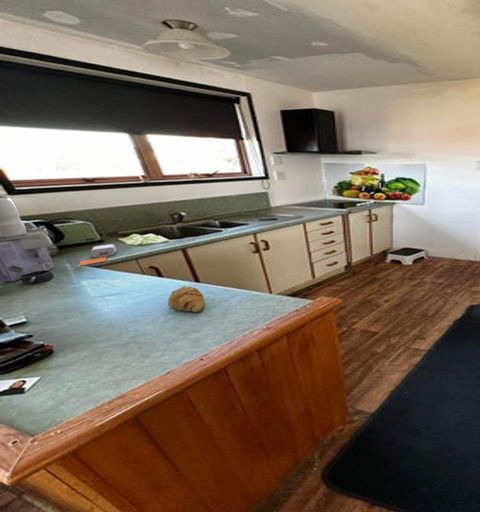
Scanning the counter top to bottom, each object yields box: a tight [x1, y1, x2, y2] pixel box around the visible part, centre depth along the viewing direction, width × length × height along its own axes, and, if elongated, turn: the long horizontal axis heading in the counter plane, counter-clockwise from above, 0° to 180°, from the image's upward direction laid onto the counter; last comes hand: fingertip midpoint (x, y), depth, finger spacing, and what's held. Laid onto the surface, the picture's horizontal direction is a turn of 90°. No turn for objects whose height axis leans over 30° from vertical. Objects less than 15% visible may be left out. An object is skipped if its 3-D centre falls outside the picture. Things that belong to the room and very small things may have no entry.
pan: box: [19, 269, 55, 285], centre depth 123 cm, size 9×9×4 cm
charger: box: [90, 243, 117, 259], centre depth 161 cm, size 5×9×15 cm
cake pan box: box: [0, 240, 56, 283], centre depth 128 cm, size 19×5×18 cm, turn 3°
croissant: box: [167, 286, 205, 313], centre depth 98 cm, size 21×10×8 cm
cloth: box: [78, 256, 108, 267], centre depth 147 cm, size 10×10×1 cm
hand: (24, 259), depth 129 cm, fingers closed on cake pan box, 7 cm apart
